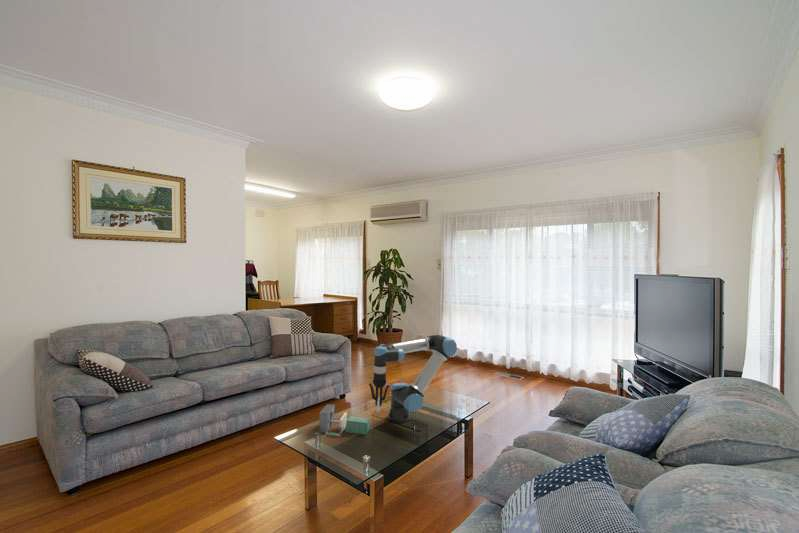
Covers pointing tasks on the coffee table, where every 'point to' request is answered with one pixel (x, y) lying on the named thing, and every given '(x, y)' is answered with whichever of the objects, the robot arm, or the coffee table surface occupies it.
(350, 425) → the box
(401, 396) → the robot arm
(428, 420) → the coffee table surface
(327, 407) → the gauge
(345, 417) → the plunger
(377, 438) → the coffee table surface
